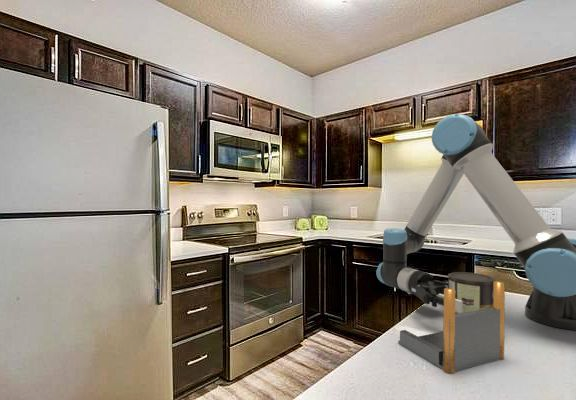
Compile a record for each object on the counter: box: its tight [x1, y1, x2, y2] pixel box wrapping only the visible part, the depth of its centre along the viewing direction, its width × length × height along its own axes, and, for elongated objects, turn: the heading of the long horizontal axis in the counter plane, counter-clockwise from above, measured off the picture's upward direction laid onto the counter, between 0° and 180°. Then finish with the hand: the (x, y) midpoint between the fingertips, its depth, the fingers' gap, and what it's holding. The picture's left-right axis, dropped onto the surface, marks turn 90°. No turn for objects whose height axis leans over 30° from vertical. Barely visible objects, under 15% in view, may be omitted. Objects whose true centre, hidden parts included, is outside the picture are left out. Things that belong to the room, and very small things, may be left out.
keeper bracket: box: [398, 280, 506, 375], centre depth 71 cm, size 16×14×16 cm
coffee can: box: [447, 271, 496, 314], centre depth 82 cm, size 10×10×14 cm
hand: (481, 303), depth 79 cm, fingers open, 13 cm apart
